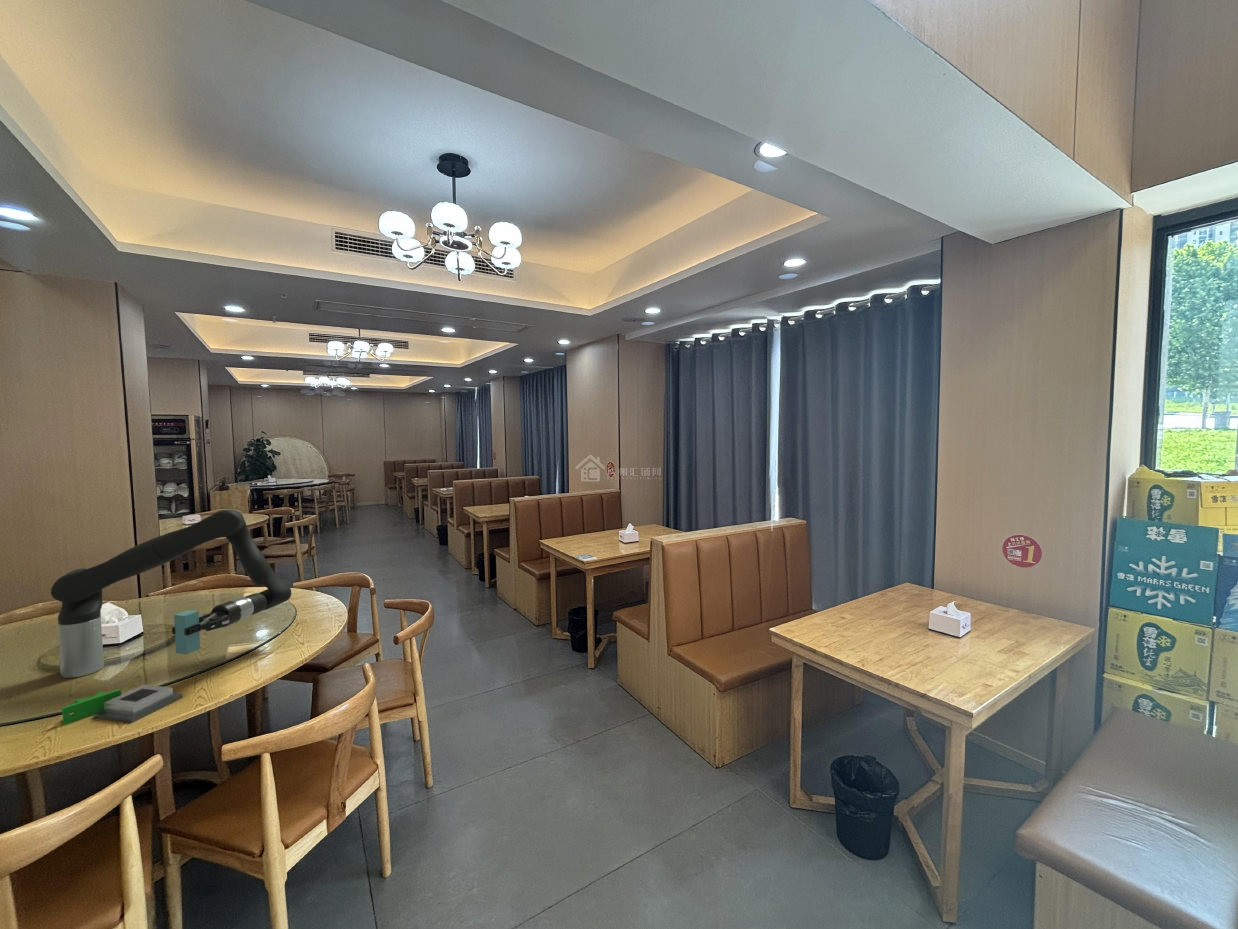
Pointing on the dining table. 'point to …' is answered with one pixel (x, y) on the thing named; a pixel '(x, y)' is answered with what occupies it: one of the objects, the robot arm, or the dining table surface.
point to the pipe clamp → (87, 706)
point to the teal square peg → (182, 641)
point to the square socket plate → (134, 718)
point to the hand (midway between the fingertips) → (179, 631)
